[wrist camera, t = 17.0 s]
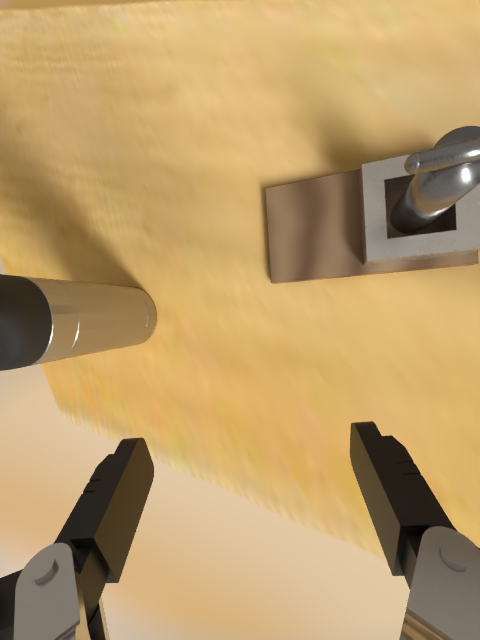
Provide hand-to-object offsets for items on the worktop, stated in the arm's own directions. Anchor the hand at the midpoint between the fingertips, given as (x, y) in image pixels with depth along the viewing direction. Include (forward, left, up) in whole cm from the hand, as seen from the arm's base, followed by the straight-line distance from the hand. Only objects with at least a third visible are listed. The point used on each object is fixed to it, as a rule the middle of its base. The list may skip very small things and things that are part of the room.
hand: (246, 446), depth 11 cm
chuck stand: (+7, +15, -27) cm, 32 cm away
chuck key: (+12, +15, -26) cm, 32 cm away
